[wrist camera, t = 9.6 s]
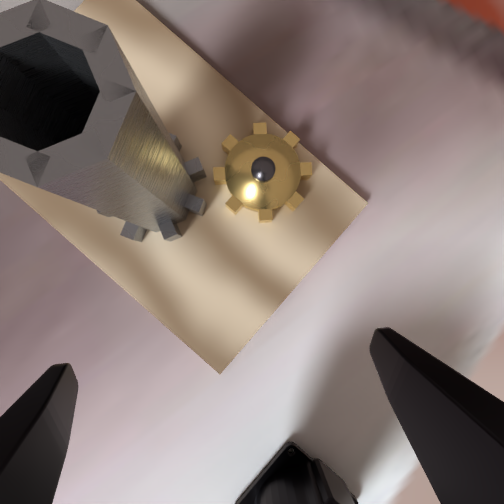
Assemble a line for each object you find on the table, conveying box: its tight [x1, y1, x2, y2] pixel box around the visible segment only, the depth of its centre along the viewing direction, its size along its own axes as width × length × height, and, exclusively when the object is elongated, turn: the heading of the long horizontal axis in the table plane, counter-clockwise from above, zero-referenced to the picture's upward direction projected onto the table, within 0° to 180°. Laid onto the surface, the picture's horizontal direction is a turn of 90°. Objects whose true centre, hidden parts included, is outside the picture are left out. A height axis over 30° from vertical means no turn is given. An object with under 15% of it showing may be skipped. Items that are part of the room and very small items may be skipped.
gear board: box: [0, 0, 368, 374], centre depth 23 cm, size 16×25×1 cm, turn 49°
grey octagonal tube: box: [0, 0, 207, 242], centre depth 16 cm, size 7×7×13 cm
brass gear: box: [213, 122, 312, 223], centre depth 22 cm, size 7×7×2 cm
